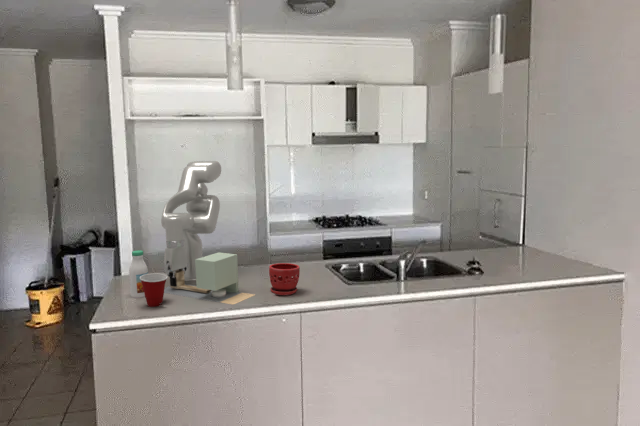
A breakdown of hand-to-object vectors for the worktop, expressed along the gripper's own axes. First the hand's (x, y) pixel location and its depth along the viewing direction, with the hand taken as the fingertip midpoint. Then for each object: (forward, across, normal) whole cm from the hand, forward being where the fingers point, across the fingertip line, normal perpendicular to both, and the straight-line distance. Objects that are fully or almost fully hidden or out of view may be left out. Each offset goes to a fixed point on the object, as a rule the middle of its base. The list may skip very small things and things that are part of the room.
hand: (177, 284), depth 239 cm
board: (+3, 0, +12) cm, 12 cm away
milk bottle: (+3, +15, -7) cm, 17 cm away
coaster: (+2, 0, +24) cm, 24 cm away
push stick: (+1, 0, +8) cm, 8 cm away
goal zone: (+3, 0, +34) cm, 34 cm away
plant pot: (+3, -18, +45) cm, 48 cm away
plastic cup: (+3, +20, +7) cm, 21 cm away
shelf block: (+3, 0, +23) cm, 23 cm away
